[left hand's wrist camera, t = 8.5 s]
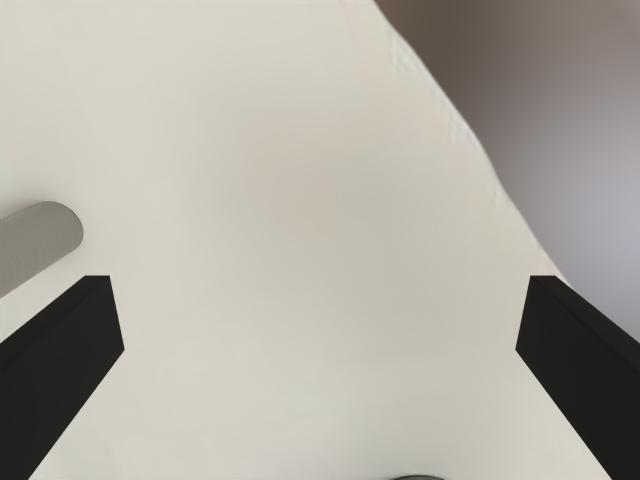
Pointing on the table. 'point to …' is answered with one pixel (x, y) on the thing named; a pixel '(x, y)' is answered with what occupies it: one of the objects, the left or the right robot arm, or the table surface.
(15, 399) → the left robot arm
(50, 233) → the jar
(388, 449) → the table surface
